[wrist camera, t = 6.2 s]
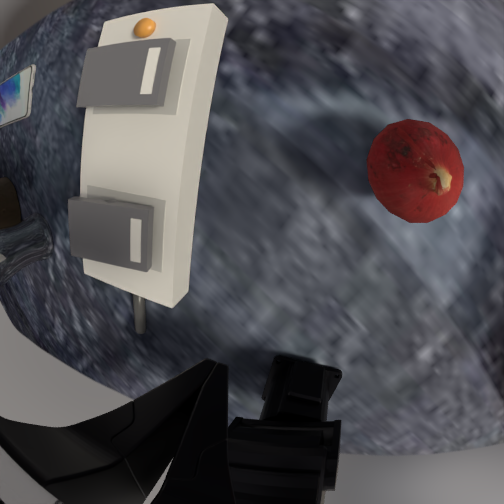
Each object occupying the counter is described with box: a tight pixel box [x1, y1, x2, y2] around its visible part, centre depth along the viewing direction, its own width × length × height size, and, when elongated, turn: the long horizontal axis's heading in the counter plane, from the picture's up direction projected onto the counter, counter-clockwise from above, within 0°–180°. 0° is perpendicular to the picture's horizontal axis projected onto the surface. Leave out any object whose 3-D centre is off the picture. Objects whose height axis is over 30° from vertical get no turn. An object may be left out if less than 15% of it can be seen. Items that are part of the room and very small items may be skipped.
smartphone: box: [0, 65, 36, 128], centre depth 24 cm, size 7×1×15 cm
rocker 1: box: [76, 38, 176, 108], centre depth 15 cm, size 5×7×2 cm, turn 81°
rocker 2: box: [68, 196, 154, 272], centre depth 19 cm, size 5×7×2 cm, turn 81°
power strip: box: [80, 4, 228, 334], centre depth 21 cm, size 30×10×4 cm, turn 171°
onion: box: [367, 119, 464, 223], centre depth 13 cm, size 6×6×8 cm
